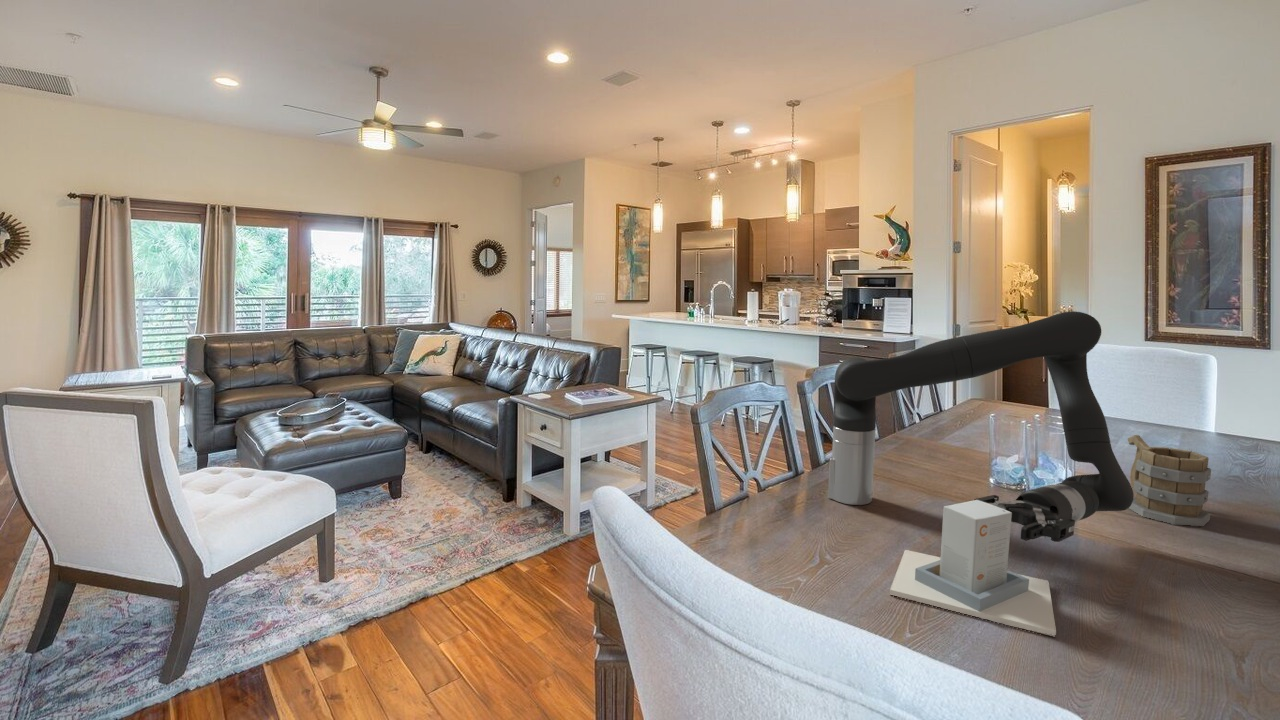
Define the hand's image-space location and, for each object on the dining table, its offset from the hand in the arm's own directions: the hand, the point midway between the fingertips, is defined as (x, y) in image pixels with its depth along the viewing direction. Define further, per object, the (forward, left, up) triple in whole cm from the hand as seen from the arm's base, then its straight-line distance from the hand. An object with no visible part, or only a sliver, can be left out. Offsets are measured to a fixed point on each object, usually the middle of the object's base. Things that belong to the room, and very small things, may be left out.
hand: (996, 524), depth 98 cm
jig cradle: (-3, -5, -10) cm, 12 cm away
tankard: (+31, +58, -10) cm, 67 cm away
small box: (-3, -5, -9) cm, 11 cm away
